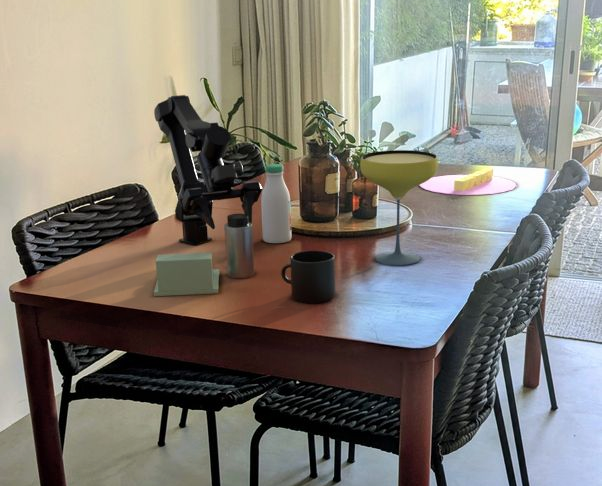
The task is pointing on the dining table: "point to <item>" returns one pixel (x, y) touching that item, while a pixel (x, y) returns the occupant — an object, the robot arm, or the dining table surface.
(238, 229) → the steel travel tumbler
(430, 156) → the cocktail glass
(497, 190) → the platter
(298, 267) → the mug
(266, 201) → the milk bottle
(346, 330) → the dining table surface
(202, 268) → the pale green butter dish
